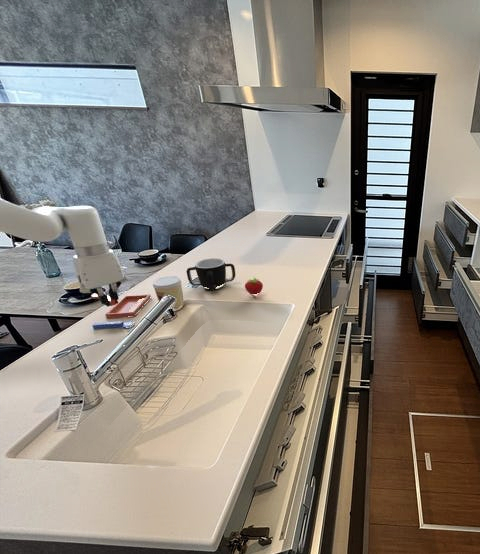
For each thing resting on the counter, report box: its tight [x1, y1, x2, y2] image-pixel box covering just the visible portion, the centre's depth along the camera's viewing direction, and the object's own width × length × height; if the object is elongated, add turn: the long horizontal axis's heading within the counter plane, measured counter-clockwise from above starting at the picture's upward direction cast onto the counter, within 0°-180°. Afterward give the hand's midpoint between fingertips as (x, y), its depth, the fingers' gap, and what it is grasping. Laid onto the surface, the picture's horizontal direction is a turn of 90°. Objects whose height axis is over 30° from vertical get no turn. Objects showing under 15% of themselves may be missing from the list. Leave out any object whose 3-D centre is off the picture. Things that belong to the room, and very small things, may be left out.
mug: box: [186, 258, 236, 291], centre depth 140 cm, size 16×16×12 cm
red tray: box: [104, 294, 152, 320], centre depth 121 cm, size 9×15×2 cm, turn 13°
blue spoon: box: [91, 320, 135, 331], centre depth 109 cm, size 12×4×2 cm, turn 103°
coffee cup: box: [152, 276, 185, 311], centre depth 121 cm, size 9×9×12 cm
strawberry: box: [244, 277, 264, 295], centre depth 133 cm, size 6×8×10 cm
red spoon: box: [90, 291, 116, 307], centre depth 99 cm, size 12×4×2 cm, turn 59°
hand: (111, 303), depth 97 cm, fingers closed on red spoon, 1 cm apart
